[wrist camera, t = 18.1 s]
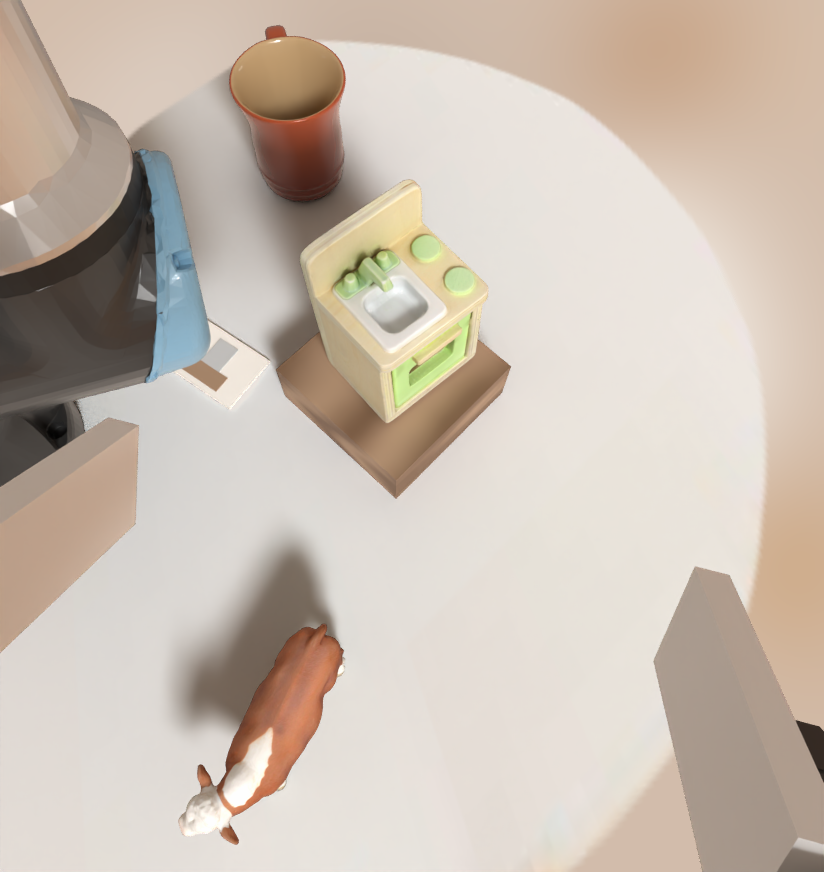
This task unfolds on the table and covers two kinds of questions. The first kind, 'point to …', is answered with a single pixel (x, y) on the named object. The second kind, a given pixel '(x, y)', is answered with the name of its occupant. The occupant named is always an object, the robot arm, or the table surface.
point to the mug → (292, 112)
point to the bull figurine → (269, 733)
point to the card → (225, 368)
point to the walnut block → (409, 432)
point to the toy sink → (392, 301)
